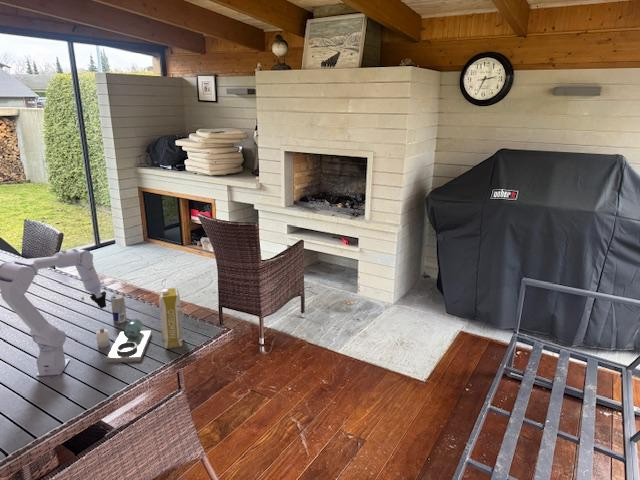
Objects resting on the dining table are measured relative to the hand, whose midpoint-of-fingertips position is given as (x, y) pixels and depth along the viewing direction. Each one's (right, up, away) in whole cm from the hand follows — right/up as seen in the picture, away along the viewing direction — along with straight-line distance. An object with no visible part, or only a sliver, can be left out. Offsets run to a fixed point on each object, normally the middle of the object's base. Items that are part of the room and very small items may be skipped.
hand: (100, 302), depth 179 cm
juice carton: (+29, -17, +2) cm, 34 cm away
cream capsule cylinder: (+2, -17, -2) cm, 17 cm away
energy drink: (0, -11, +17) cm, 21 cm away
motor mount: (+13, -18, -3) cm, 22 cm away
